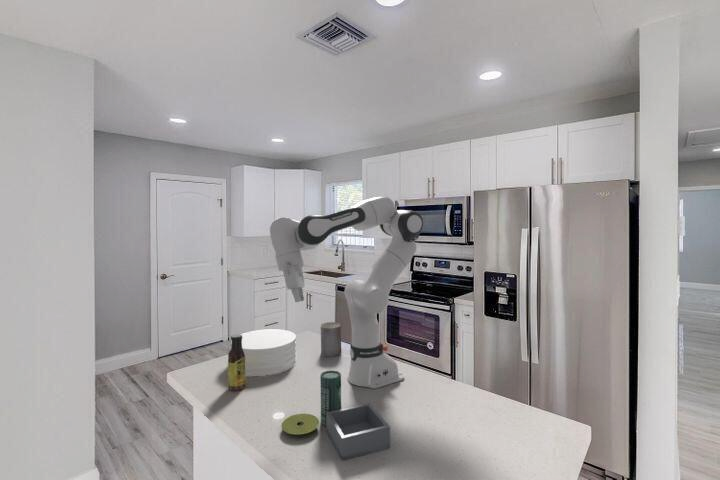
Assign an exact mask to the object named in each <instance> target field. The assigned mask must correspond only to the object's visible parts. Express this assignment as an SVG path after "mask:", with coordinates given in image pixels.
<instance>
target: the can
mask: <svg viewBox="0 0 720 480" xmlns="http://www.w3.org/2000/svg"><path fill="white" fill-rule="evenodd" d="M319 379H320V423H321V425H323V426H325V427H327V423H326V412H330V411H335V410H340V409H342V373H341V372H339V371H338V370H326V371H323V372H321V373H320V377H319Z"/></svg>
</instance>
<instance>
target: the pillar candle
mask: <svg viewBox="0 0 720 480" xmlns="http://www.w3.org/2000/svg"><path fill="white" fill-rule="evenodd" d="M341 326H342V325H341V323H339V322H333V321H331V322H330V321H329V322H324V323H322V324H321V325H320V349H321V351H320V352H321V355H322V356H325V357H336V356H339V355H340V354H341V353H342V332H341V331H342V329H341V328H342V327H341Z"/></svg>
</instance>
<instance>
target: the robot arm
mask: <svg viewBox="0 0 720 480" xmlns="http://www.w3.org/2000/svg"><path fill="white" fill-rule="evenodd" d="M378 226H379V228H380V230H381V232H383V233H384V234H385V235H388V236H390V237H392V238H391V241H390V243H389V245H388V246H387V247H386V248H385V249H384V250H383V252H382V253H381V254H380V255H379V257H378V258H377V259H376V261H374V263H373V264H372V266H371V267H372V270H371V272H370V274H369V276H368V278H367V279H366V280H363V279H355V280H351V281H349V282H348V283H347V284H346V286H345V287H344V297H345V299H346V302H347V307H348V313H349V314H348V315H349V319H350V327H351V329H350V330H351V334H350V335H351V343H350V349H349V355H350V366H349V371H348V375H347V381H348V383H350V384H351V385H355V386H359V387H365V388H369V389H374V390H375V389H379V388H382V387H384V386H388V385H391V384H394V383H397V382H400V381H404V379H405V376H404V373H403V372H402V371H401V370H400V369H399V367H398V364H397V362H396V361H395V359H394V358H392V357H391V356H390V355H389V354H388V353H386V352H388V350H389V347H388V345H385V344H383V343H381V342H380V323H379V321H378V319H377V316H376V315H377V314H381V313H382V312H384V311H385V310H386V309H387V307H388V305H389V301H390V300H389V295H390V292H391V291H392V288H393V286H394V284H395V282H396V280H397V279H398V278H399V277H400V275H401V274H402V273H403V271H404V270H405V269H406V268H407V266H408V265H409V264H410V262H411V260H413V257H414V255H415V253H416V251H417V244H416V242H415V241H417V240H418V238H419V236H420V234H421V233H422V230H423V227H424V219H423V217H422V215H421V214H420V213H419V212H417V211H414V210H411V209H409V210H408V209H407V210H406V209H396V205H395V203H394V201H393V200H392V199H391V198H390V197H388V196H377V197H371V198H368V199H365V200H362V201H360V202H358V203H356V204H353V205H352V206H349V208H347V209H344V210H340V211H337V212H334V213H331V214H327V215H320V214H319V215H318V214H310V215H307V216H305V217H303V218H302V219H301V220H300V221H298V220H296V219H295V220H294V219H292V218H290V217H289V216H285V217H284V216H283V217H281V218H279V219H276V220H275V221H273V222H272V223H271V225H270V226H269V234H270V240H271V245H272V247H273V249H274V252H275V260H276V261H275V262H276V265H277V268H278V269H277V270H278V271H279V272H283V277H284V282H285V286H286V289H287V290H290V291H291V293H292V296H293V298H294V302H295V303H299V302H303V301H304V300H305V296H304V290H303V289H304V288H305V278H304V273H303V267H304V265H305V264H304V260H303V256H302V253H301V251H310V250H313V249H316V248H317V247H318V246H319V245H320V244H321V243H322V242H324V241H325V240H326V239H327V238H328V237H329V236H330V235H331V234H334V233H336V232H340V231H342V230H345V229H349V228H353V229H354V230H355V231H358V232H361V231H366V230H369V229H373V228H375V227H378Z"/></svg>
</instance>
